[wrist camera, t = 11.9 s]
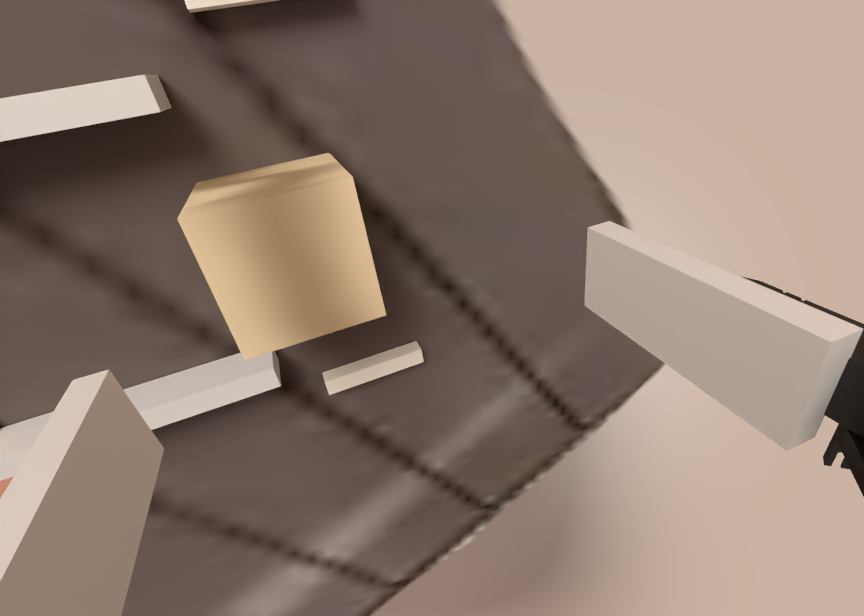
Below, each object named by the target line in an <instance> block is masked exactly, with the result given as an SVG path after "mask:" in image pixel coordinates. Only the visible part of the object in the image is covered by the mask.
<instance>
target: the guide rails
mask: <svg viewBox="0 0 864 616" xmlns="http://www.w3.org/2000/svg"><path fill="white" fill-rule="evenodd" d="M170 108H172V107H171V105H170V103H169V100H168V98H167V95H166V93H165V91H164V88H163V86H162V84H161V81H160V79H159V77H158V75H139V76H133V77H127V78H121V79H115V80H109V81H103V82H97V83H91V84H85V85H79V86H73V87H67V88H61V89H55V90H49V91H43V92H37V93H31V94H25V95H19V96H13V97H7V98H1V99H0V142H2V141H7V140H12V139H18V138H23V137H29V136H34V135H39V134H45V133H50V132H56V131H61V130H66V129H72V128H77V127H82V126H88V125H93V124H99V123H104V122H109V121H115V120H120V119H126V118H131V117H136V116H142V115H147V114H152V113H158V112H162V111H165V110H167V109H170ZM280 386H281V380H280V369H279V359H278V357H277V355H276V352H275V351H273V352H269V353H266V354H263V355H260V356H257V357H254V358H251V359H247V360H244V358H243V356H242V354H241V353H238V354H235V355H232V356H228V357H225V358H222V359H219V360H216V361H213V362H209V363H206V364H203V365H200V366H197V367H193V368H190V369H187V370H184V371H181V372H178V373H174V374H171V375H168V376H165V377H162V378H158V379H155V380H152V381H149V382H146V383H143V384H139V385H136V386H133V387H130V388H127V389H123V390H124V392H125V393H126V395H127V396H128V397H129V399H130V400H131V402H132V403H133V405H134V406H135V408H136V409H137V410H138V412H139V413H140V415H141V416H142V418H143V419H144V420H145V422H146V423H147V425H148V426H149V428H150V429H151V430H153V429H156V428H159V427H162V426H165V425H168V424H171V423H174V422H177V421H180V420H182V419H185V418H188V417H191V416H194V415H197V414H200V413H203V412H206V411H209V410H212V409H215V408H218V407H221V406H224V405H227V404H230V403H233V402H236V401H239V400H242V399H245V398H248V397H251V396H254V395H256V394H259V393H262V392H265V391H268V390H271V389H274V388H277V387H280ZM53 412H54V411H53ZM53 412H50V413H47V414H44V415H41V416H38V417H34V418H31V419H28V420H25V421H22V422H18V423H15V424H12V425H9V426H6V427H2V428H1V429H0V481H2V480H5V479H8V478H11V477H14V475H15V474H16V472H17V471H18V469H19V467H20V466H21V464H22V462H23V461H24V459H25V457H26V456H27V454H28V453H29V451H30V449H31V448H32V446H33V444H34V443H35V441H36V440H37V438H38V436H39V435H40V433H41V431H42V430H43V428H44V426H45V425H46V423H47V422H48V420H49V418H50V417H51V415H52V413H53Z"/></svg>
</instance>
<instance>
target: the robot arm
mask: <svg viewBox="0 0 864 616" xmlns="http://www.w3.org/2000/svg"><path fill="white" fill-rule="evenodd" d="M585 306H586V307H587V308H589V309H590V310H591V311H593V312H594V313H596V314H597V315H598V316H600V317H601V318H603V319H604V320H605V321H607V322H608V323H610V324H611V325H612V326H614V327H615V328H617V329H618V330H619V331H621V332H622V333H624V334H625V335H626V336H628V337H629V338H631V339H632V340H633V341H635V342H636V343H637V344H639V345H640V346H642V347H643V348H644V349H646V350H647V351H649V352H650V353H651V354H653V355H654V356H656V357H657V358H658V359H660V360H661V361H663V362H664V363H665V364H667V365H668V366H670V367H671V368H672V369H674V370H675V371H677V372H678V373H679V374H681V375H682V376H684V377H685V378H686V379H688V380H689V381H691V382H692V383H693V384H695V385H696V386H697V387H699V388H700V389H702V390H703V391H704V392H706V393H707V394H709V395H710V396H712V397H713V398H714V399H716V400H717V401H719V402H720V403H721V404H723V405H724V406H725V407H727V408H728V409H730V410H731V411H732V412H734V413H735V414H737V415H738V416H740V417H741V418H742V419H744V420H745V421H746V422H748V423H749V424H751V425H752V426H753V427H755V428H756V429H757V430H759V431H761V432H762V433H763V434H765V435H766V436H767V437H769V438H770V439H772V440H773V441H774V442H776V443H777V444H778V445H780V446H781V447H783V448H784V449H786V450H789V449H791V448H793V447H795V446H797V445H799V444H802V443H804V442H806V441H808V440H810V439H812V438H814V437H815V435H816V433H817V431H818V429H819V427H820V424H821V422H822V420H823V418H824V416H825V415H826V416H828V417H829V418H831V419H832V420H834V421H836V422H837V423H839V425H838V427H837V429H836V431H835V433H834V435H833V437H832V439H831V441H830V443H829V446H828V448H827V450H826V452H825V454H824V456H823V460H824V465H827V466H831V465H832V463H833V461H834V459H835V457H836V455H837V453H838V452H842V453H843V454H844V457H845V458H844V459H843V462H842V464H841V468H846V469H851V471H852V474H853V475H854V478H855V480H856V482H857V484H858V486H859V488H860V490H861V492H862V494H863V496H864V324H862V323H860V322H857V321H855V320H852V319H850V318H848V317H845V316H843V315H841V314H838V313H836V312H833V311H831V310H828V309H826V308H824V307H821V306H819V305H816V304H814V303H812V302H809V301H807V300H805V301H802V300H801V298H800V297H797V296H795V295H792V294H790V293H787V292H786V293H783V291H782V290H780V289H778V288H776V287H773V286H771V285H768V284H766V283H764V282H761V281H758V280H753V279H749V278H744V277H740V276H738V275H735V274H733V273H731V272H728V271H726V270H724V269H721V268H718V267H717V266H714V265H712V264H709V263H707V262H705V261H702V260H700V259H697V258H695V257H693V256H691V255H688V254H686V253H683V252H681V251H678V250H676V249H674V248H671V247H669V246H667V245H665V244H662V243H660V242H658V241H655V240H653V239H650V238H648V237H646V236H643V235H641V234H639V233H636V232H634V231H632V230H629V229H627V228H624V227H622V226H620V225H617V224H615V223H613V222H610V221H608V222H605V223H601V224H598V225H595V226H591V227H588V234H587V259H586V283H585ZM163 451H164V448H163V446H162V445H161V443H160V442H159V441H158V439H157V438H156V436H155V435H154V433H153V432H152V431H151V429H150V428H149V426H148V425H147V423H146V422H145V420H144V419H143V418H142V416H141V415H140V413H139V412H138V410H137V409H136V408H135V406H134V405H133V403H132V402H131V400H130V399H129V397H128V396H127V395H126V393H125V392H124V390H123V389H122V387H121V386H120V385H119V383H118V382H117V380H116V379H115V377H114V376H113V374H112V373H111V372H110V370H105V371H102V372H99V373H95V374H92V375H89V376H85V377H82V378H78V379H75V380H73V381H72V382H71V384H70V386H69V387H68V389H67V391H66V392H65V394H64V395H63V397H62V399H61V400H60V402H59V404H58V405H57V407H56V408H55V410H54V412H53V413H52V415H51V417H50V418H49V420H48V422H47V423H46V425H45V426H44V428H43V430H42V431H41V433H40V435H39V436H38V438H37V440H36V441H35V443H34V444H33V446H32V448H31V449H30V451H29V453H28V454H27V456H26V457H25V459H24V461H23V462H22V464H21V466H20V467H19V469H18V471H17V472H16V474H15V475H14V477H13V479H12V480H11V482H10V484H9V485H8V487H7V488H6V490H5V492H4V493H3V495H2V497H1V498H0V616H121V614H122V610H123V606H124V602H125V599H126V595H127V591H128V587H129V583H130V579H131V575H132V571H133V568H134V564H135V560H136V556H137V552H138V548H139V544H140V540H141V536H142V533H143V529H144V525H145V521H146V517H147V513H148V509H149V505H150V501H151V498H152V494H153V490H154V486H155V482H156V478H157V474H158V470H159V467H160V463H161V459H162V455H163Z"/></svg>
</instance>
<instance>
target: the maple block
mask: <svg viewBox="0 0 864 616" xmlns="http://www.w3.org/2000/svg"><path fill="white" fill-rule="evenodd" d="M178 221H179V223H180V225H181V228H182V230H183V232H184V234H185V236H186V238H187V240H188V242H189V244H190V247H191V249H192V251H193V253H194V255H195V257H196V259H197V261H198V263H199V265H200V268H201V270H202V272H203V274H204V276H205V278H206V280H207V282H208V284H209V286H210V289H211V291H212V293H213V295H214V297H215V299H216V301H217V303H218V305H219V307H220V310H221V312H222V314H223V316H224V318H225V320H226V322H227V324H228V326H229V328H230V331H231V333H232V335H233V337H234V339H235V341H236V343H237V345H238V347H239V349H240V352H241V354H242V356H243V358H244V360H247V359H251V358H254V357H257V356H260V355H263V354H266V353H269V352H273V351H276V350H279V349H282V348H285V347H288V346H291V345H295V344H298V343H301V342H304V341H307V340H310V339H313V338H317V337H320V336H323V335H326V334H329V333H332V332H335V331H339V330H342V329H345V328H348V327H351V326H354V325H357V324H361V323H364V322H367V321H370V320H373V319H376V318H379V317H383V316H386V312H385V308H384V304H383V299H382V295H381V291H380V287H379V283H378V279H377V275H376V271H375V266H374V262H373V258H372V254H371V250H370V246H369V242H368V238H367V233H366V229H365V225H364V221H363V217H362V213H361V209H360V205H359V200H358V196H357V192H356V188H355V184H354V180H353V177H352V176H351V175H350V174H349V173H348V172H347V171H346V170H345V169H344V168H343V167H342V165H341V164H340V163H339V162H338V161H337V160H336V159H335V158H334V157H333V156H332V155H331V154H330V153H326V154H322V155H317V156H313V157H308V158H304V159H299V160H295V161H290V162H286V163H281V164H277V165H272V166H268V167H263V168H259V169H254V170H250V171H245V172H241V173H236V174H232V175H227V176H223V177H218V178H214V179H210V180H205V181H201V182H197V183H196V185H195V187H194V188H193V190H192V192H191V194H190V196H189V198H188V200H187V202H186V204H185V205H184V207H183V209H182V211H181V213H180V215H179V217H178Z"/></svg>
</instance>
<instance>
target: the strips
mask: <svg viewBox="0 0 864 616" xmlns="http://www.w3.org/2000/svg"><path fill="white" fill-rule="evenodd" d="M272 1H279V0H185V3H186V6H187V9H188V10H189V11H190V12H191V13H193V12H201V11H208V10H215V9H222V8H229V7H236V6H243V5H251V4H258V3H265V2H272ZM422 362H424V360H423V355H422V350H421V348H420V346H419V345H418V343H417V341H414V342H411V343H408V344H405V345H402V346H399V347H396V348H394V349H391V350H388V351H385V352H382V353H379V354H376V355H373V356H370V357H367V358H364V359H361V360H358V361H355V362H352V363H349V364H346V365H343V366H340V367H337V368H334V369H331V370H328V371H325V372H323V378H324V382H325V385H326V387H327V390H328V393H329V395H331V394H334V393H337V392H340V391H343V390H345V389H348V388H351V387H354V386H357V385H360V384H362V383H365V382H368V381H371V380H374V379H377V378H380V377H382V376H385V375H388V374H391V373H394V372H397V371H399V370H402V369H405V368H408V367H411V366H414V365H417V364H419V363H422Z"/></svg>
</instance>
